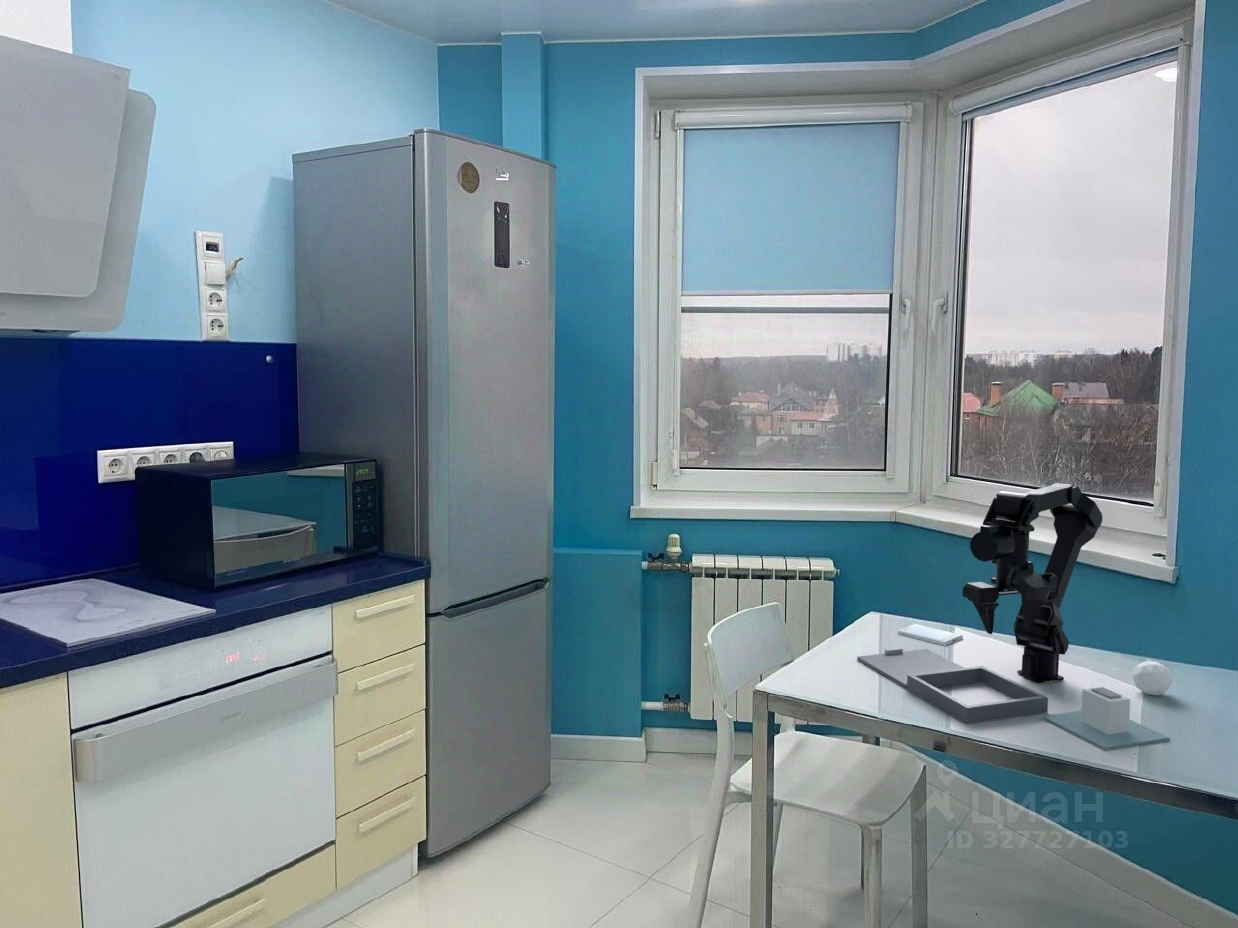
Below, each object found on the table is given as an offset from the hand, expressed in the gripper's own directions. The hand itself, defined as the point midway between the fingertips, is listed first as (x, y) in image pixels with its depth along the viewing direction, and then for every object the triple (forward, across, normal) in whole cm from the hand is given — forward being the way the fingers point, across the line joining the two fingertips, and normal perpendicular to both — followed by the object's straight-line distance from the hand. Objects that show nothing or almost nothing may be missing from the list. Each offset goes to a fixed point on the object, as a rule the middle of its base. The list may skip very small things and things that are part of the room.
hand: (1008, 631), depth 170 cm
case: (+12, -10, +6) cm, 17 cm away
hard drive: (+13, +7, +35) cm, 38 cm away
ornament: (+12, +26, -10) cm, 30 cm away
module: (+12, +3, -21) cm, 24 cm away
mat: (+12, +3, -21) cm, 24 cm away
